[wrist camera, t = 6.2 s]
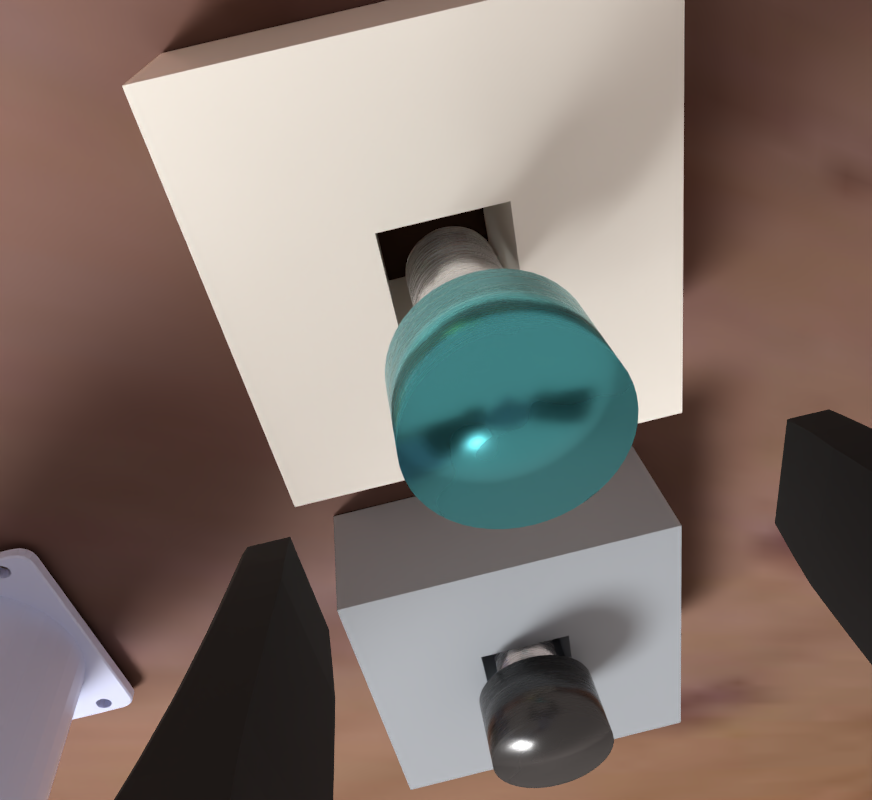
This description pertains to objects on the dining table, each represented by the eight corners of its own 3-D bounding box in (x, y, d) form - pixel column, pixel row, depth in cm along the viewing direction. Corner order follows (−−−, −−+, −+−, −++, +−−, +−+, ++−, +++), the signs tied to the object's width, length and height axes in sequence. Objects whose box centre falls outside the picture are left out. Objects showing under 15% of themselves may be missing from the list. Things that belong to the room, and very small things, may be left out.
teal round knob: (389, 359, 17) (423, 552, 12) (349, 210, 15) (369, 363, 9) (540, 323, 17) (641, 498, 12) (521, 169, 15) (634, 299, 10)
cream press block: (297, 419, 21) (294, 507, 18) (161, 53, 16) (122, 85, 12) (626, 339, 21) (682, 412, 18) (607, -52, 16) (684, -46, 13)
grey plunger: (465, 633, 27) (501, 799, 22) (448, 568, 25) (483, 733, 20) (558, 610, 27) (616, 770, 22) (549, 543, 25) (610, 702, 20)
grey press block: (399, 694, 29) (410, 789, 26) (333, 516, 23) (336, 610, 20) (639, 634, 29) (680, 722, 26) (630, 443, 24) (681, 525, 20)
